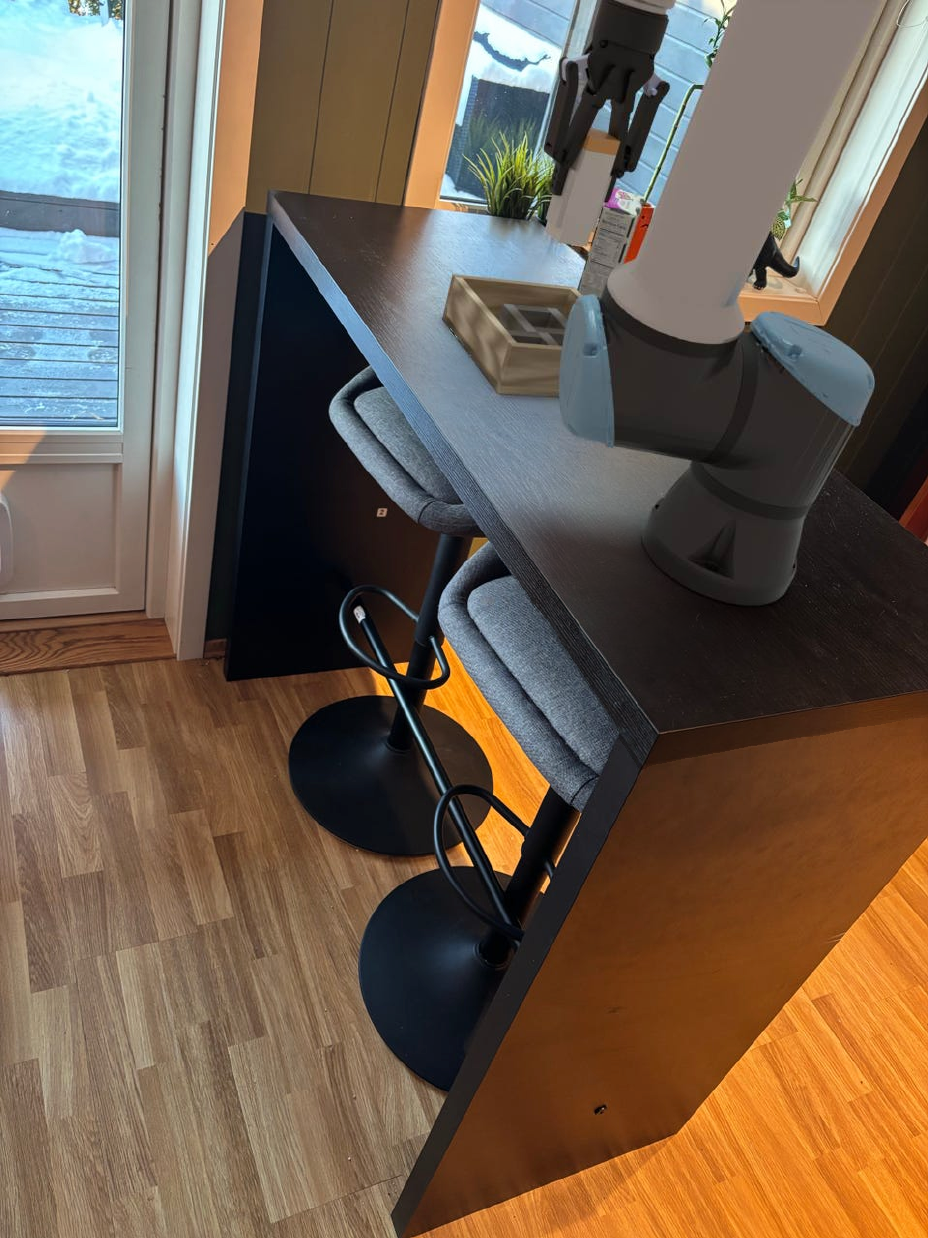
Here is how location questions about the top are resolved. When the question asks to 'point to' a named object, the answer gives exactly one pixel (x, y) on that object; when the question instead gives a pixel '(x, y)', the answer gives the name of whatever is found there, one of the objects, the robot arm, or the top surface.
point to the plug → (586, 188)
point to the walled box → (511, 330)
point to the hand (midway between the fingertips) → (570, 224)
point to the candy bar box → (610, 240)
